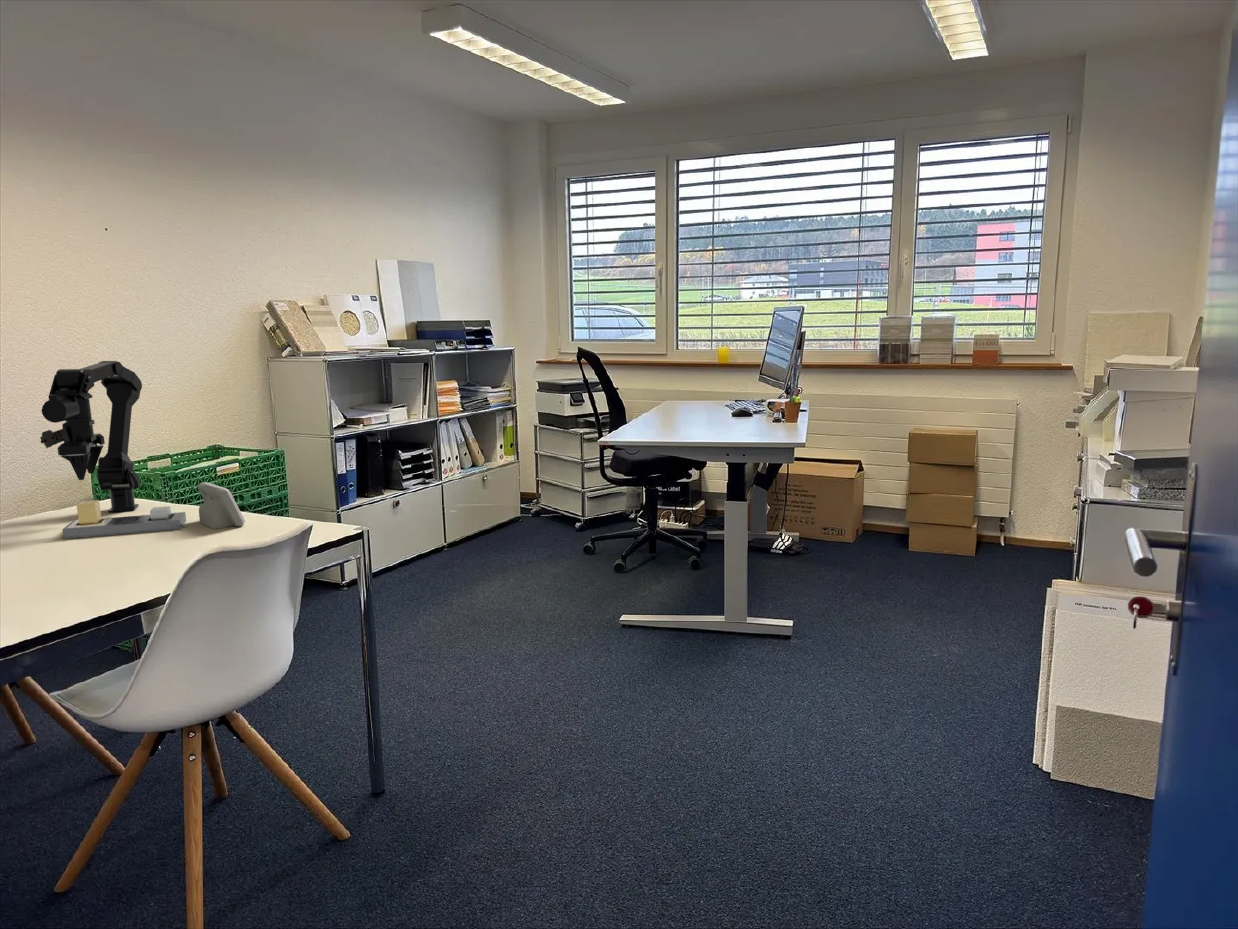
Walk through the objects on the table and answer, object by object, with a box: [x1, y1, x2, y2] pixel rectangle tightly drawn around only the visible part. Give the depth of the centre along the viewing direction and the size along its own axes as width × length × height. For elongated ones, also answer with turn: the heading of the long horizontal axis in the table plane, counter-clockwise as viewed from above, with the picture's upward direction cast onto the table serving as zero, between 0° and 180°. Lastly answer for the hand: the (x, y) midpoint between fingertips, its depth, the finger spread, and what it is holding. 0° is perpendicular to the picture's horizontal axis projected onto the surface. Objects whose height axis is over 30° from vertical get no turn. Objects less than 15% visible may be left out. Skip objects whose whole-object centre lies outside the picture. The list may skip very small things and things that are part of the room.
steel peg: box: [149, 505, 172, 521], centre depth 211 cm, size 4×4×5 cm
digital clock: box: [197, 481, 246, 530], centre depth 213 cm, size 16×9×11 cm, turn 37°
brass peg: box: [76, 499, 102, 525], centre depth 205 cm, size 4×4×8 cm
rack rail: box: [62, 511, 187, 540], centre depth 208 cm, size 9×26×3 cm, turn 110°
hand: (86, 476), depth 211 cm, fingers open, 9 cm apart
